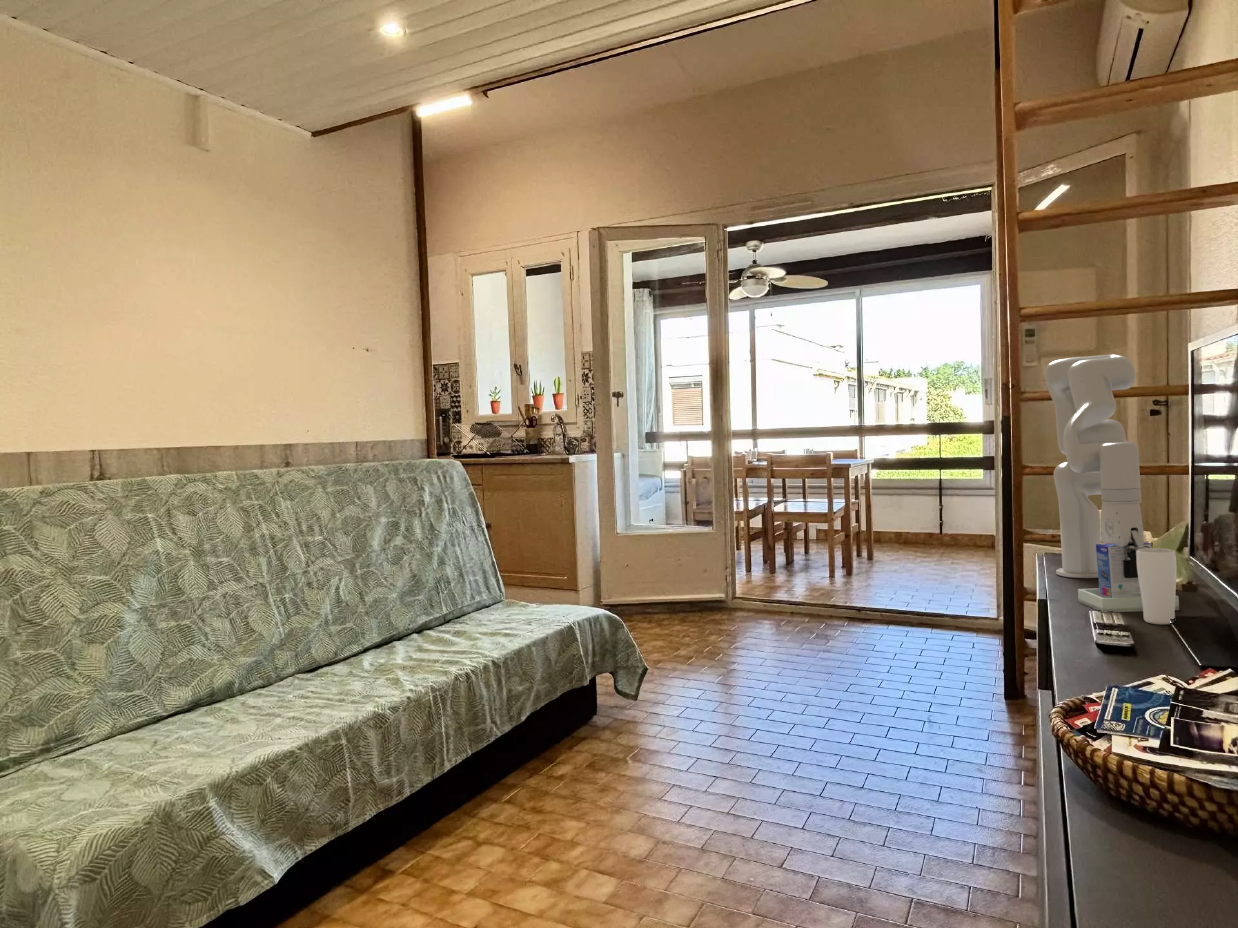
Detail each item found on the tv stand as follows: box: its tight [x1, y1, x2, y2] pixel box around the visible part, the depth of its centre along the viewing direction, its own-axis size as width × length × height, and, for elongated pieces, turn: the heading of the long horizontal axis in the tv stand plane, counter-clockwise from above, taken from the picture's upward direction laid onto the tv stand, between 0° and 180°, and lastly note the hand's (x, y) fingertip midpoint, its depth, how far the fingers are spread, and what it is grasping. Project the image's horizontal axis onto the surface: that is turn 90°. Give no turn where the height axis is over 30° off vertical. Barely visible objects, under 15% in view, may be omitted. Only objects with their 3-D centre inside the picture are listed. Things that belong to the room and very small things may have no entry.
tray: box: [1077, 587, 1180, 613], centre depth 174 cm, size 12×16×3 cm
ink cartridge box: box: [1096, 541, 1153, 598], centre depth 174 cm, size 10×6×14 cm, turn 89°
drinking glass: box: [1136, 547, 1178, 626], centre depth 159 cm, size 7×7×15 cm
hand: (1124, 574), depth 174 cm, fingers closed on ink cartridge box, 5 cm apart
